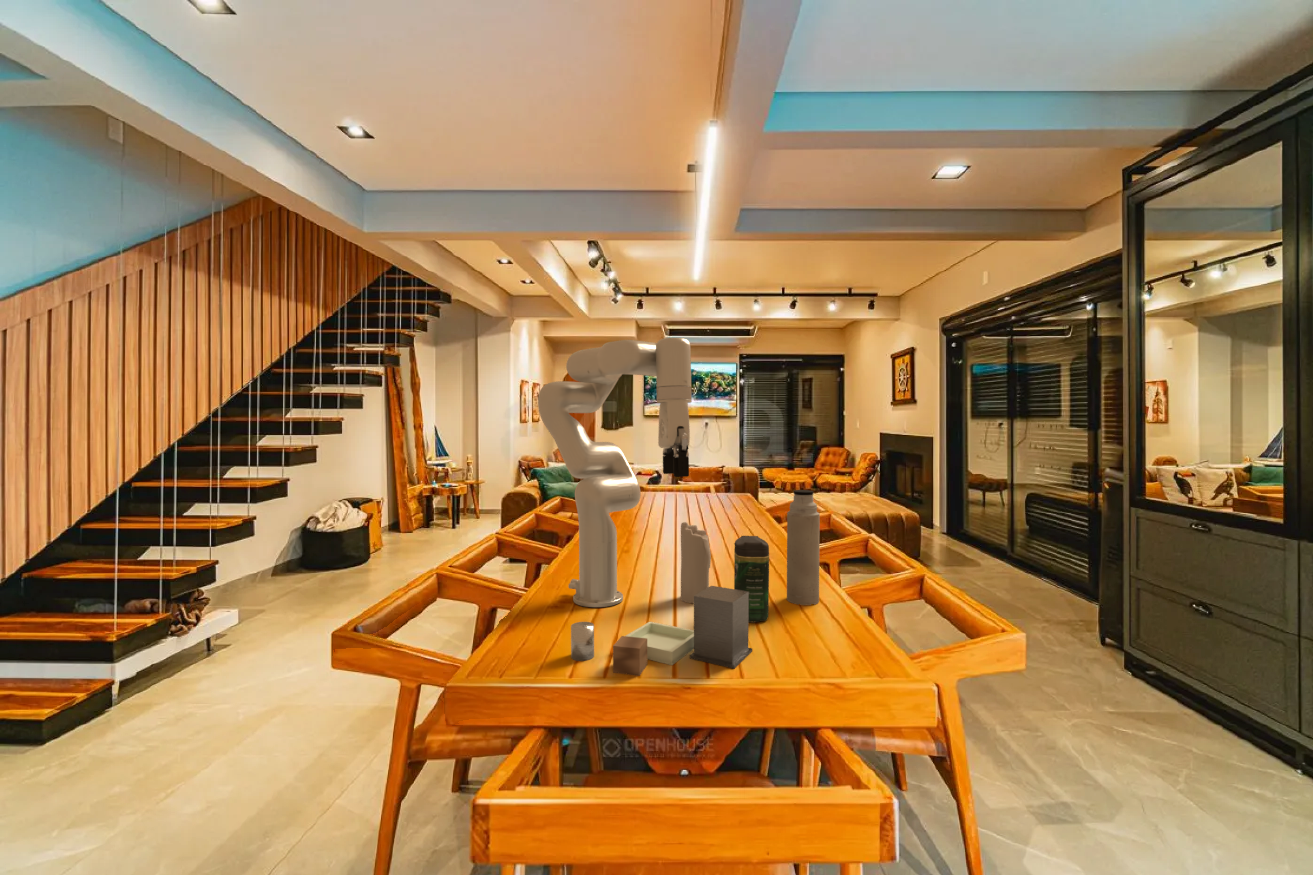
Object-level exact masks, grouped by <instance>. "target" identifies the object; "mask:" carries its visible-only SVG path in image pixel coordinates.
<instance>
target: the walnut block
mask: <svg viewBox="0 0 1313 875" xmlns="http://www.w3.org/2000/svg"><path fill="white" fill-rule="evenodd" d="M612 654H613V655H612V665H613V666H612V670H613V671H612V673H613V674H622V675H630V676H639V677H640V676H641V675H642V673H643V672H644V670H646V668H647V666H648V659H647V638H638V637H628V636H626V635H621V636H620V638H618V639H617V641H616V642H615V643H614V644H613V646H612Z"/></svg>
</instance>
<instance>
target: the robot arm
mask: <svg viewBox="0 0 1313 875" xmlns="http://www.w3.org/2000/svg"><path fill="white" fill-rule="evenodd" d="M691 349H692V348H691V343H690V341H689V339H687V338H684V337H666V338H661V339H659V340H658V341H657V342H652V341H651V342H650V341H644V340H633V339H622V340H615V341H609V342H608V341H607V342H605V343H604V344H603V345H602V346H599V347H593V348H586V349H581V350H577V351H575V352H573V353H572V354H571V355H570V356H569V357H568V358H567V360H566V363H565V364H566V365H565V368H566V372H567V374H568V375H569V376H570V378H571V379H572V380H574V381H564V380H563V381H560V380H559V381H552V382H548V383H546V384H544V385H542V387H541V388H540V390H539V393H538V398H537V406H538V408H537V409H538V413H539V416H540V419H541V421H542V423H543V424H544V426H545V428H546V429H547V431H548V433H549V434H550V436H552V439H553V440H554V442H555V444H556V446H557V448H558V452H559V454H560V455H561V457H562V460H563V462H564V464H565V467H566V469H567V471H568V472H569V474H570V475H571V476H572V477H573V478H575V479H581V480H580V481H579V482H578V483H577V485H576V486H575V490H574V501H575V505H576V510H577V517H578V547H579V548H578V550H579V551H578V554H579V556H578V567H579V568H578V570H579V572H578V575H579V576H578V578H579V579H575V578H572V579H571V580H570V581H569V582H570V583H568V588H569V589H570V590H571V589H572V590H575V593H574V595H573V596H572V597H573V598H572V600H573V603H574V604H576V605H578V606H579V607H580V606H581V607H586V608H606V607H612V606H615V605H618V604H620V603H621V602H623V600H624V594H623V593H622V592H621V591H619V590H618V543H617V542H618V540H617V539H618V537H617V535H618V532H617V527H616V524H615V522H614V521H613V518H612V517H611V515H610V513H614V512H622V511H627V510H631V509H634V508H636V506H638V505H639V503H640V499H641V496H642V495H641V487H640V484H639V481H638V480H637V477H636V475H635V472H634V471H633V469H632V467H631V465H630V464H629V462H628V459H627V457H626V455H625V454H624V452H623V450H622V449H621V448H620V447H619V446H618V445H617V444H615V443H613V442H609V441H593V440H591V438H590V437H589V435H588V433H587V432H586V429H585V427H584V426H583V425H582V424H581V423H580V421H578V420H577V419H576V418H575V417H573V416H572V415H571V414H573V413H574V414H590V413H591V414H592V413H595V412H597V411H598V410H600V408H601V407H603V405H604V403H605V402H606V400H607V398H608V397H609V395H610V394H611V392H612V390H614V388H615V386H616V384H617V383H618V381H619V379H620V378H621V377H622V375H633V376H648V377H655V378H656V379H655V380H656V403H657V404H659V411H658V439H657V440H658V442H657V443H658V444H657V446H658V447H659V448H661V449H662V474H664V475H669V474H670V475H672V474H673V476H674V478H683V477H684V478H687V477H689V476H690V459H689V457H690V453H689V446H690V438H691V437H690V434H691V433H690V415H689V411H690V410H689V403H692V363H691V362H692V361H691V360H692V354H691Z"/></svg>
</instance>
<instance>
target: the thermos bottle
mask: <svg viewBox="0 0 1313 875" xmlns="http://www.w3.org/2000/svg"><path fill="white" fill-rule="evenodd" d="M813 495H814V491H813V490H808V489H798V490H797V489H796V490H793V501H792V502H790V504H789V511H787V513H786V514H787V515H786V522H787V523H786V525H787V526H786V528H787V529H786V601H788V602H789V603H791V604H795V605H799V604H800V606H812V605H811V604H814V605H817V604H819V602H820V531H821V530H820V529H821V528H820V526H821V524H820V522H821V521H820V517H821V516H820V515H821V514H820V512H818V505H817V503H815V502H814V496H813Z"/></svg>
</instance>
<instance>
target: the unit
mask: <svg viewBox="0 0 1313 875" xmlns="http://www.w3.org/2000/svg"><path fill="white" fill-rule="evenodd" d="M748 611H749V591H742V590H736V589H734V588H729V587H722V586H715V585H709V587H708V588H707V589H705V590H703V591H701V592H700V593H698V594H696V595H695V596H694V603H693V630H694V649H693V652H692V653H691V654H689V659H690V660H695V661H699V662H703V663H708V664H712V665H717V666H720V667H721V666H722V667H725V668H730V669H733V670H735V669H736V668H737V666H739V665H740V664H741V663H742V662H743V661H744V660H745V659H746V658H747V657H748V656H749V655H750V654H751V653H752V652H753V648H751V647H749V622H748Z"/></svg>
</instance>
